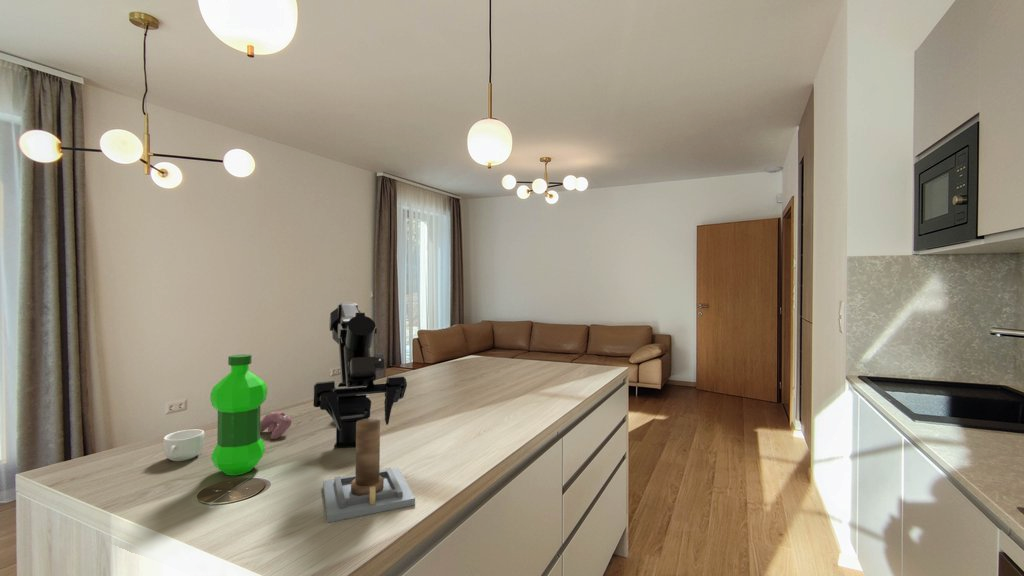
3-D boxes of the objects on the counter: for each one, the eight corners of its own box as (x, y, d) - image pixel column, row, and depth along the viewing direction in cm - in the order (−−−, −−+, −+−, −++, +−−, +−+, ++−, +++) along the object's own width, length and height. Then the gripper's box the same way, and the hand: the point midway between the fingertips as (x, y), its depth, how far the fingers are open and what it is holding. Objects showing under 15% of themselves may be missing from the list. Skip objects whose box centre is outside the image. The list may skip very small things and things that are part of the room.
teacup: (173, 452, 107) (174, 430, 107) (209, 450, 108) (210, 428, 108) (150, 469, 97) (150, 444, 97) (190, 466, 99) (190, 442, 99)
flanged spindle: (344, 493, 84) (344, 424, 84) (363, 480, 89) (364, 416, 89) (371, 498, 82) (372, 428, 82) (389, 484, 88) (390, 418, 88)
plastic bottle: (230, 460, 102) (231, 352, 102) (275, 461, 101) (276, 352, 101) (198, 479, 92) (199, 359, 92) (248, 480, 91) (249, 359, 91)
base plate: (323, 486, 89) (323, 465, 89) (398, 473, 96) (398, 454, 96) (327, 522, 76) (327, 498, 76) (415, 504, 82) (415, 482, 82)
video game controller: (286, 442, 119) (297, 416, 121) (271, 439, 115) (283, 412, 118) (265, 435, 124) (277, 410, 126) (250, 432, 120) (262, 406, 123)
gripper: (314, 343, 91) (315, 411, 81) (405, 339, 99) (416, 400, 89) (312, 374, 98) (313, 440, 88) (398, 368, 106) (407, 428, 96)
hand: (364, 426), depth 90 cm, fingers open, 9 cm apart
